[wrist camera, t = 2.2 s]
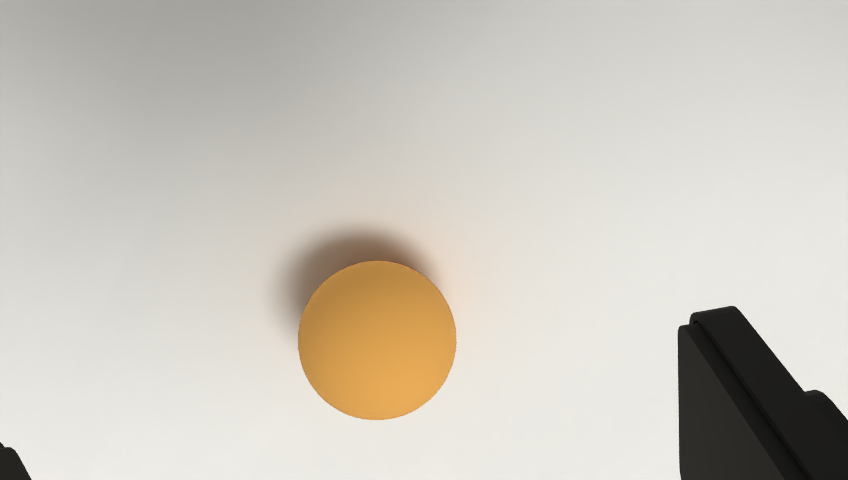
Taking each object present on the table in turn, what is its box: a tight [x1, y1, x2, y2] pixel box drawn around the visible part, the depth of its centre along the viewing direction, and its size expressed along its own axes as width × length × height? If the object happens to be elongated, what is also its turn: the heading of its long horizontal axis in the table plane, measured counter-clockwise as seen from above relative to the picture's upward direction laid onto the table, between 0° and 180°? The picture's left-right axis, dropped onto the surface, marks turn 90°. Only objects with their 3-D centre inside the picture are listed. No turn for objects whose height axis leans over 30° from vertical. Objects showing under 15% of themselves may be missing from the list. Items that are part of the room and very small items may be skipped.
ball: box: [298, 261, 456, 420], centre depth 28 cm, size 6×6×6 cm
